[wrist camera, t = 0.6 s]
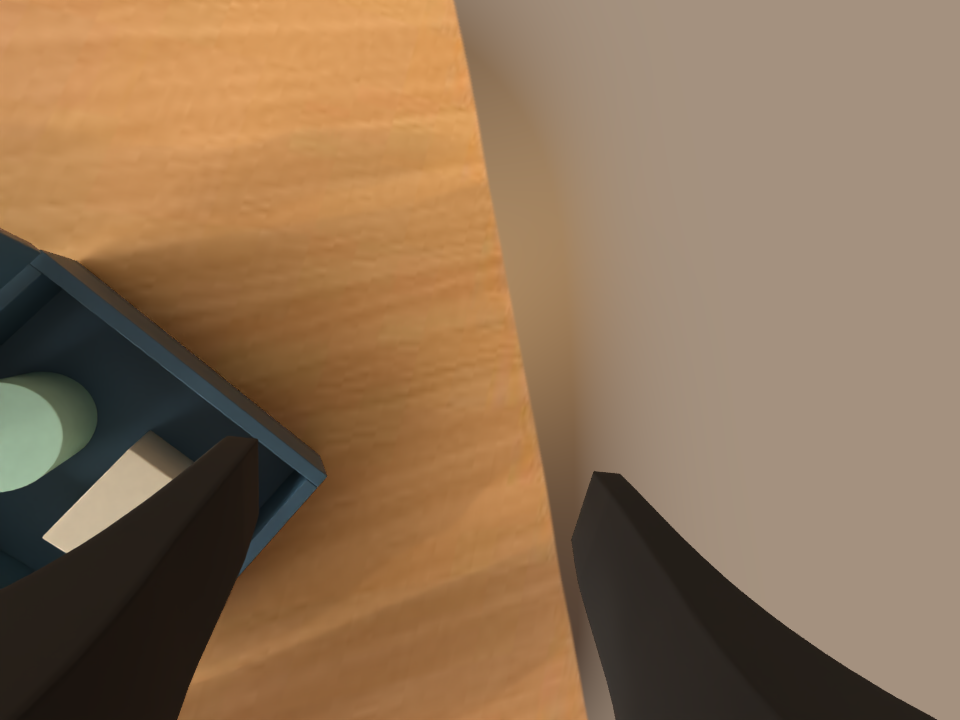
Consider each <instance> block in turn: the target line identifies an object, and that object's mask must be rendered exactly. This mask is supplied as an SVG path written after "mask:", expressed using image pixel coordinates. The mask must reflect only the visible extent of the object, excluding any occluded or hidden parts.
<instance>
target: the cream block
mask: <svg viewBox="0 0 960 720" xmlns="http://www.w3.org/2000/svg"><path fill="white" fill-rule="evenodd" d="M193 463H194V462H193V461H192V460H191V459H189V458H188V457H187V456H185V455H184V454H182V453H181V452H180V451H178V450H177V449H176V448H174V447H173V446H171V445H170V444H169V443H167V442H166V441H165V440H163V439H162V438H161V437H159V436H158V435H156V434H155V433H154V432H152V431H148V432H147V433H146V434H145V435H144V436H143V437H142V438H141V439H139V440H138V441H137V442H136V443H135V444H134V445H133V446H132V447H130V448H129V449H128V450H127V451H126V452H125V453H124V454H123V455H122V456H121V457H120V458H119V459H118V460H117V461H116V462H115V464H114V465H113V466H112V467H111V468H110V469H109V470H108V471H107V472H106V473H105V474H104V475H103V476H102V477H101V478H100V479H99V480H98V481H97V482H96V483H95V484H94V485H93V486H92V487H91V488H90V489H89V490H88V491H87V492H86V493H85V494H84V495H83V496H82V497H81V498H80V499H79V500H78V501H77V502H76V503H75V504H74V505H73V506H72V507H71V508H70V509H69V510H68V511H67V512H66V513H65V514H64V515H63V516H62V517H61V518H60V519H59V520H58V521H57V522H56V523H55V524H54V525H53V526H52V527H51V528H50V529H49V531H48V532H47V533H46V534H45V535H44V536H43V537H42V538H43V539H44V540H46V541H48V542H49V543H51V544H52V545H54V546H56V547H57V548H59V549H61V550H62V551H64V552H65V553H68V552H69V551H71V550H73V549H74V548H76V547H78V546H80V545H81V544H83V543H84V542H86V541H87V540H89V539H91V538H92V537H94V536H95V535H97V534H98V533H100V532H101V531H103V530H104V529H106V528H107V527H109V526H110V525H111V524H113V523H114V522H116V521H117V520H119V519H120V518H121V517H123V516H124V515H126V514H127V513H129V512H130V511H131V510H133V509H134V508H136V507H137V506H138V505H140V504H141V503H143V502H144V501H145V500H147V499H148V498H149V497H151V496H152V495H153V494H155V493H156V492H157V491H158V490H160V489H161V488H162V487H164V486H165V485H166V484H167V483H169V482H170V481H171V480H173V479H174V478H175V477H177V476H178V475H179V474H180V473H182V472H183V471H184V470H185V469H186V468H188V467H189V466H190V465H191V464H193Z"/></svg>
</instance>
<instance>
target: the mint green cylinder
mask: <svg viewBox="0 0 960 720" xmlns="http://www.w3.org/2000/svg"><path fill="white" fill-rule="evenodd" d="M96 426H97V409H96V405H95V402H94V400H93V398H92V397H91V395H90V394H89V392H88V391H87V390H86V389H85V388H84V387H83V386H82V385H81V384H79V383H78V382H76V381H75V380H73V379H71V378H69V377H67V376H64V375H61V374H57V373H53V372H31V373H26V374H21V375H17V376H12V377H7V378H3V379H0V492H6V491H12V490H15V489H19V488H22V487H24V486H27V485H29V484H31V483H33V482H35V481H36V480H38V479H39V478H41V477H42V476H44V475H45V474H47V473H48V472H50V471H51V470H53V469H54V468H55V467H57V466H58V465H60V464H61V463H63V462H64V461H66V460H67V459H69V458H70V457H72V456H73V455H75V454H76V453H78V452H79V451H80V450H81V449H83V448H84V447H85V446H86V445H87V443H88V442H89V441H90V439H91V438H92V436H93V434H94V432H95V429H96Z"/></svg>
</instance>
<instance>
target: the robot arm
mask: <svg viewBox="0 0 960 720" xmlns="http://www.w3.org/2000/svg"><path fill="white" fill-rule="evenodd" d="M258 516H259V470H258V439H256V438H245V437H235V436H226V437H225V438H224V439H222V440H221V441H220V442H218V443H217V444H216V445H215V446H213V447H212V448H211V449H210V450H208V451H207V452H206V453H205V454H204V455H202V456H201V457H200V458H199V459H198V460H196V461H195V462H194V463H193V464H191V465H190V466H189V467H188V468H186V469H185V470H184V471H183V472H182V473H180V474H179V475H178V476H177V477H175V478H174V479H173V480H171V481H170V482H169V483H167V484H166V485H165V486H164V487H162V488H161V489H160V490H158V491H157V492H156V493H155V494H153V495H152V496H151V497H149V498H148V499H147V500H145V501H144V502H143V503H141V504H140V505H138V506H137V507H136V508H134V509H133V510H131V511H130V512H129V513H127V514H126V515H124V516H123V517H121V518H120V519H119V520H117V521H116V522H114V523H113V524H111V525H110V526H109V527H107V528H106V529H104V530H103V531H101V532H100V533H98V534H97V535H95V536H94V537H92V538H91V539H89V540H87V541H86V542H84V543H83V544H81V545H80V546H78V547H76V548H74V549H73V550H71V551H69V552H68V553H66V554H64V555H63V556H61V557H59V558H58V559H56V560H54V561H53V562H51V563H49V564H47V565H46V566H44V567H42V568H40V569H39V570H37V571H35V572H33V573H31V574H29V575H27V576H25V577H23V578H21V579H20V580H18V581H16V582H14V583H12V584H10V585H8V586H6V587H4V588H2V589H0V720H177V719H178V716H179V713H180V710H181V707H182V704H183V702H184V699H185V696H186V693H187V690H188V687H189V685H190V682H191V680H192V678H193V675H194V673H195V670H196V668H197V665H198V663H199V661H200V659H201V656H202V654H203V652H204V650H205V647H206V645H207V643H208V641H209V639H210V636H211V634H212V632H213V630H214V628H215V625H216V623H217V621H218V619H219V617H220V614H221V612H222V610H223V608H224V606H225V603H226V601H227V599H228V597H229V595H230V592H231V590H232V588H233V586H234V583H235V581H236V579H237V577H238V574H239V572H240V570H241V568H242V565H243V563H244V561H245V558H246V555H247V552H248V549H249V546H250V542H251V539H252V536H253V533H254V529H255V526H256V523H257V519H258ZM572 547H573V554H574V562H575V568H576V573H577V579H578V584H579V588H580V592H581V595H582V599H583V602H584V605H585V609H586V613H587V616H588V620H589V623H590V626H591V629H592V633H593V636H594V640H595V643H596V646H597V650H598V653H599V657H600V660H601V664H602V667H603V670H604V674H605V677H606V680H607V684H608V688H609V692H610V696H611V700H612V704H613V709H614V714H615V719H616V720H937V719H935V718H933V717H931V716H930V715H928V714H926V713H924V712H922V711H920V710H918V709H917V708H915V707H913V706H911V705H909V704H907V703H906V702H904V701H902V700H900V699H898V698H896V697H895V696H893V695H891V694H890V693H888V692H886V691H884V690H882V689H881V688H879V687H878V686H876V685H874V684H873V683H871V682H870V681H868V680H866V679H865V678H863V677H862V676H860V675H858V674H857V673H855V672H853V671H851V670H850V669H848V668H847V667H845V666H844V665H842V664H841V663H839V662H838V661H836V660H835V659H833V658H831V657H830V656H828V655H827V654H825V653H824V652H822V651H821V650H819V649H818V648H817V647H815V646H814V645H812V644H811V643H809V642H808V641H807V640H805V639H804V638H802V637H801V636H799V635H798V634H796V633H795V632H794V631H792V630H791V629H789V628H788V627H787V626H785V625H784V624H783V623H781V622H780V621H778V620H777V619H776V618H774V617H773V616H772V615H771V614H769V613H768V612H766V611H765V610H764V609H763V608H762V607H760V606H759V605H758V604H757V603H755V602H754V601H753V600H751V599H750V598H749V597H748V596H747V595H745V594H744V593H743V592H741V591H740V590H739V589H738V588H737V587H736V586H735V585H733V584H732V583H731V582H730V581H729V580H728V579H726V578H725V577H724V576H723V575H722V574H721V573H720V572H719V571H717V570H716V569H715V568H714V567H713V566H712V565H711V564H710V563H709V562H708V561H707V560H705V559H704V558H703V557H702V556H701V555H700V554H699V553H698V552H697V551H696V550H695V549H694V548H692V546H691V545H690V544H688V542H686V541H685V540H684V539H683V538H682V537H681V536H680V535H679V534H678V533H677V532H676V531H675V530H674V529H673V528H672V527H671V526H670V524H668V522H666V520H665V519H664V518H663V517H662V516H661V515H660V514H659V513H658V512H657V511H656V510H655V509H654V508H653V507H652V506H651V505H650V504H649V503H648V502H647V501H646V500H645V499H644V498H643V497H642V496H641V494H640V493H638V491H637V490H636V489H635V488H634V487H633V486H632V485H631V484H630V483H629V482H627V480H626V479H625V478H624V477H623V476H622V475H620V474H615V473H606V472H596V471H594V472H593V475H592V478H591V481H590V484H589V487H588V490H587V493H586V496H585V499H584V502H583V506H582V508H581V512H580V515H579V518H578V521H577V524H576V527H575V530H574V533H573V536H572Z"/></svg>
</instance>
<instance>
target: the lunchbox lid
mask: <svg viewBox="0 0 960 720" xmlns="http://www.w3.org/2000/svg"><path fill="white" fill-rule="evenodd" d="M40 254H41V252H40V251H39V250H38V249H37V248H36V247H35V246H33V245H32V244H31V243H29V242H27V241H25V240H23V239H21V238H19V237H17V236H15V235H13V234H11V233H9V232H7V231H5V230H3V229H1V228H0V289H2V288H3V287H4V286H5V285H6V284H7V283H8V282H9V281H10V280H12V279H13V278H14V277H15V276H16V275H17V274H18V273H19V272H21V271H22V270H23V269H24V268H25V267H26V266H27V265H28V264H29V263H31V262H32V261H33V260H34V259H35V258H36V257H37V256H38V255H40Z"/></svg>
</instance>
